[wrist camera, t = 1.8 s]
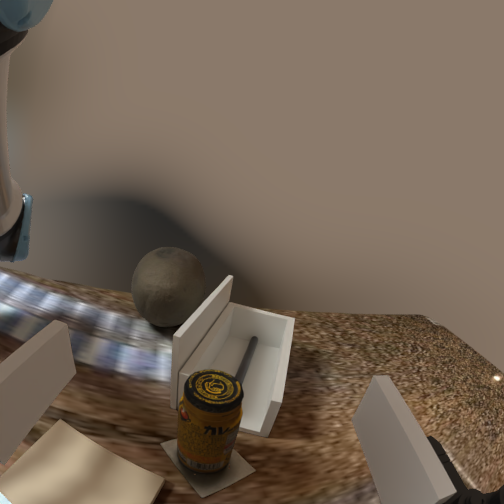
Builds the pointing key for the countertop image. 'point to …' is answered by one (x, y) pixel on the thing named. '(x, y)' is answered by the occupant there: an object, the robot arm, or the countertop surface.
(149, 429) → the countertop surface
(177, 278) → the kiwi fruit
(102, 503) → the pad
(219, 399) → the condiment
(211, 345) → the white tray with rod
